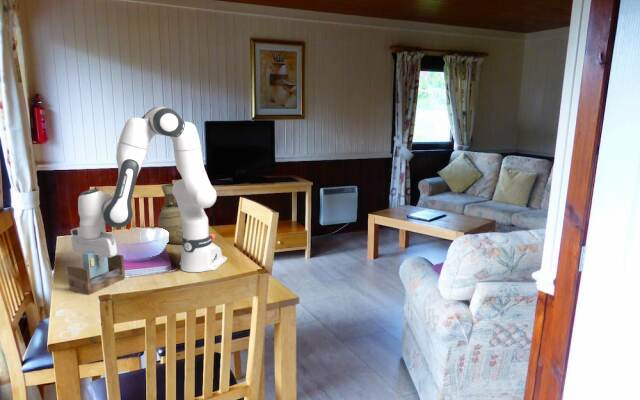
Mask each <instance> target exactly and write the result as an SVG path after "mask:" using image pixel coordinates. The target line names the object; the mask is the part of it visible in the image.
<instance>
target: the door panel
mask: <svg viewBox="0 0 640 400" xmlns="http://www.w3.org/2000/svg"><path fill="white" fill-rule="evenodd" d="M97 261H99V258H98V255H94V252H90V251H87V252H85V253H82V266H83V267H82V268H87V269H89V272H90V279H91V278H94V277H96V276H99V275H101V274H103V273H106V272H108V271H109V270H108V258H107V257H105V258H104V260H103V265H102V266H98V265H97Z"/></svg>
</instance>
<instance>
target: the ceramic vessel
mask: <svg viewBox="0 0 640 400" xmlns="http://www.w3.org/2000/svg"><path fill="white" fill-rule="evenodd" d="M173 185H174V183H165V184H163V185H161V190H162V192H163V194H164V195H163V196H164V203H165V204H164V205H163V206H162V207H161V208H160V213H159V216H158V229H159V228H163V229H165V230H167V231H168V232H169V242H168V243H167V244H170V245H182V237H183V230H182V219H181V215H180V211H179V208H178V204H177V201H176V199H175V197H174V195H173V193H172V188H173Z"/></svg>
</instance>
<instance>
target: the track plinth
mask: <svg viewBox="0 0 640 400" xmlns="http://www.w3.org/2000/svg"><path fill="white" fill-rule="evenodd" d="M107 258H108V270H109V271H108V272H106V273H103V274H101V275H99V276H96V277H94V278H91V279H90V272H89V269H87V268H84V267H82V266H76V265H71V264H70V265H67V266H66V268H67V276H68V277H67V279H68V286H69V291H70V292H74V293H79V294H83V295H87V296H90V295H92V294H94V293H97V292H99V291H101V290H102V289H105V288H107V287H110V286H112V285H114V284H117V283H118V282H121V281H123V280H125V279H126V273H125V262H124V261H125V260H124V255H122V254H118V253H117V255H116V256H113V257H111V258H109V257H107ZM124 278H125V279H124ZM120 280H121V281H120ZM111 284H112V285H111ZM109 285H110V286H109Z"/></svg>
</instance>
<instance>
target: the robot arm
mask: <svg viewBox="0 0 640 400" xmlns="http://www.w3.org/2000/svg"><path fill="white" fill-rule="evenodd" d="M157 135H160V136H165V137H170V140H171V141H172V147H173V154H174V159H175V168H176V169H177V171H178V173H179V174H180V176H181V179H178V180H177V181H175V182H174V183H173V184H174V185H173V188H172V193H173V195H174V197H175V199H176V201H177V204H178V208H179V211H180V215H181V219H182V230H183V237H182V244H181V246H182V247H181V250H180V251H181V253H180V254H181V255H180V257H181V258H180V261H179V266H180V270H182V272H183V271H184V272H186V273H202V272H207V271H216V270H217V269H218V268H219V267H220V266H222V265H223V264H224V263H225V262H226V261H228V257H227V256H224V255H223V253H222V252H223V251H222V248H221V247H220V246H218V245H217V244H216V243H214V242H212V240H214V239H215V238H216V234H214V233H213V234H212V233H210V231H209V230H210V229H209V218H208V216H207V215H208V214H206V212H205V209H207V208H211V207H213V206H214V204H215V203H216V201H217V194H218V193H217V191H216V189H215V188H214V187H213V185H212V184H211V181H210V179H209V177H208V174H207V171H206V169H205V165H204V159H203V153H202V146H201V140H200V135H199V131H198V130H197V127H196V125H195V124H194V123H192V122H190V121H184V120H183V119H182V118H181V116H180V114H178V112H177V111H176V110H174V109H172V108H168V107H166V106H158V107H153V108H151V109H149V110H148V111H147V112H146V113H145V114H144V115H143V116H142V117H137V116H136V117H135V116H134V117H130V118H129V119H128V120H126V122H125V124H124V126H123V128H122V131H121V133H120V136H119V139H118V144H117V147H116V153H115V154H116V155H115V156H116V158H115V159H116V163H117V165H116V166H117V169H118V178H117V182H116V186H115V189H114V193H113V194H109V193H106V192H104V191H102V190H101V189H99V188H98V189H97V188H95V189H94V188H93V189H88V190H85V191H81V193H80V194H79V196H78V199H77V200H78V201H77V209H78V211H77V213H78V216H79V219H80V221H79V226H78V227H76V228H72V229H70V234H71V247H72V250H73V251H74V252H75V253H76V252H77V253H85V252H87V251H90V252H94V255H98V258H99V261H97V265H98V266H102V265H103V260H104V258H105V257H109V258H111V257H113V256H116V255H117V254H118V249H117V247H118V246H117V242H116V240H115V237H114V236H113V235H112V233H108V232H106V224H107V225H108V226H109V227H111V228H124V227H126V226H127V225H129V224H130V222H131V221H132V219H133V216H134V213H133V212H134V211H133V208H132V200H133V194H134V190H135V186H136V183H137V178H138V176H139V173H140V171H141V169H142V167H143V165H144V161H145V159H146V158H147V154H148V150H149V147H150V143H151V141H152V139H153V138H154V136H157Z"/></svg>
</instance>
